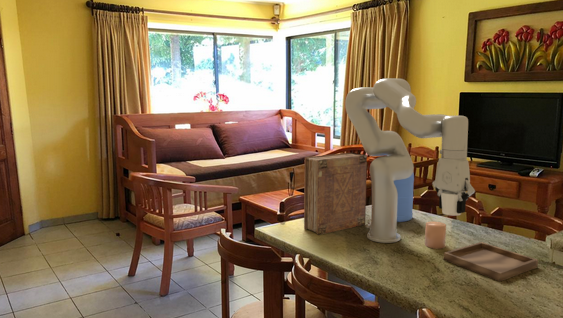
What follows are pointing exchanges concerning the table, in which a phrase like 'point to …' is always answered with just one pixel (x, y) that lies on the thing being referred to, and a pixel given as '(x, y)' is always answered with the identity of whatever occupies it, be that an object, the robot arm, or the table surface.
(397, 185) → the water jug
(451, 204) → the white tapered cup
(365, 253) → the table surface
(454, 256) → the walnut tray
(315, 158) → the book
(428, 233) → the peach rounded capsule
